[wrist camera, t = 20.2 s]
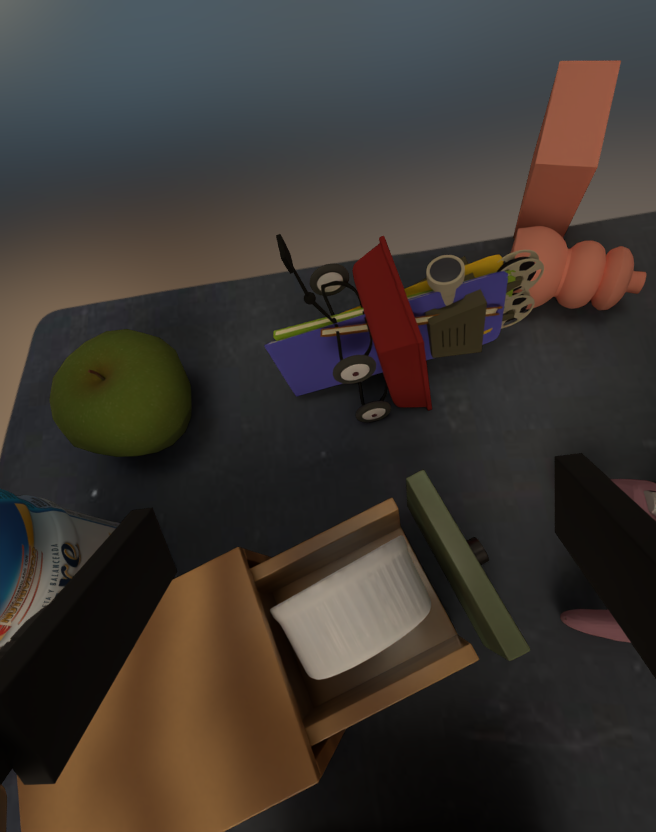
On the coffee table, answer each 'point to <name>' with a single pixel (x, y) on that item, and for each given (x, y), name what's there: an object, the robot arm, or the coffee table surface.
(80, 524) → the beverage bottle
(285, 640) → the drawer
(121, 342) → the apple
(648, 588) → the robot arm
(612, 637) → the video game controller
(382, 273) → the toy wheeled cart
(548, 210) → the pottery
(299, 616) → the ramekin
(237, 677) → the cabinet
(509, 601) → the coffee table surface
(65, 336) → the coffee table surface
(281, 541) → the coffee table surface
